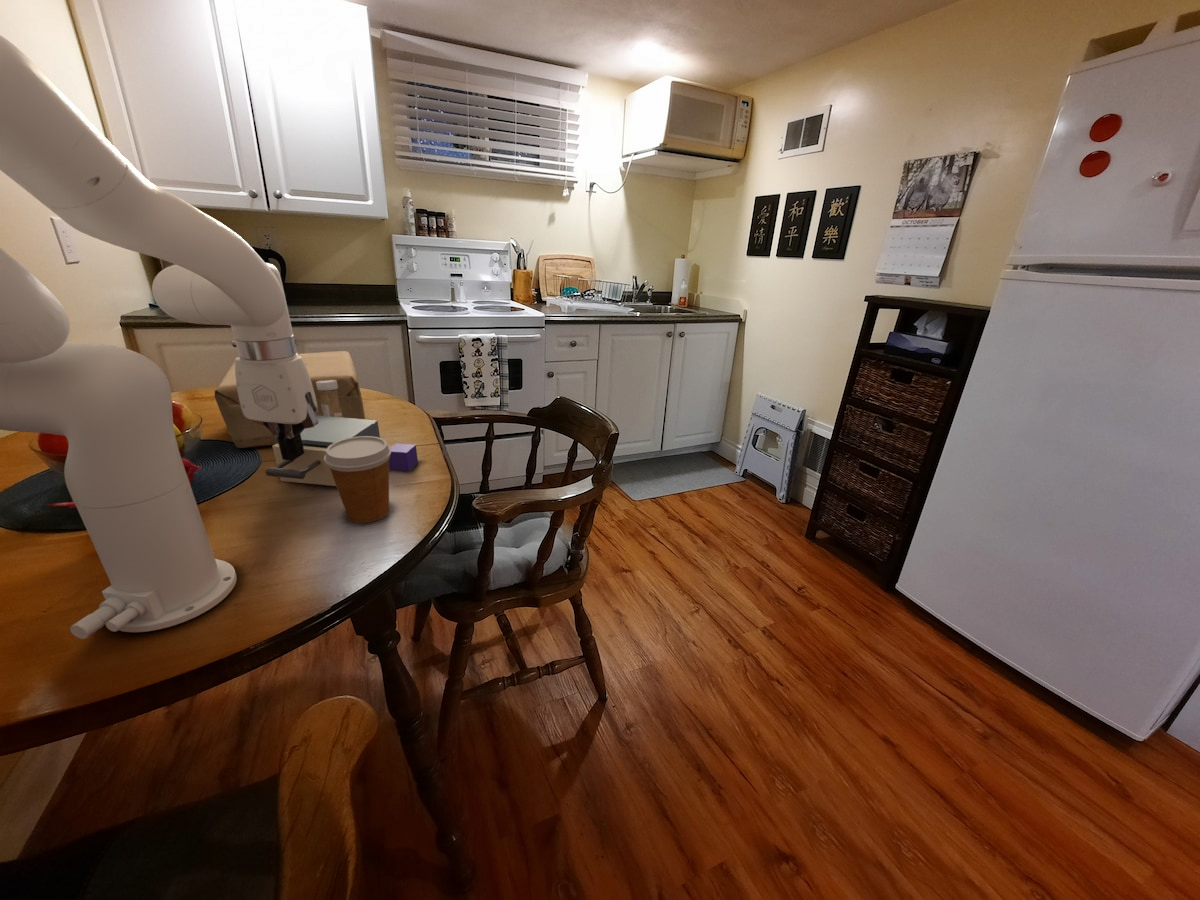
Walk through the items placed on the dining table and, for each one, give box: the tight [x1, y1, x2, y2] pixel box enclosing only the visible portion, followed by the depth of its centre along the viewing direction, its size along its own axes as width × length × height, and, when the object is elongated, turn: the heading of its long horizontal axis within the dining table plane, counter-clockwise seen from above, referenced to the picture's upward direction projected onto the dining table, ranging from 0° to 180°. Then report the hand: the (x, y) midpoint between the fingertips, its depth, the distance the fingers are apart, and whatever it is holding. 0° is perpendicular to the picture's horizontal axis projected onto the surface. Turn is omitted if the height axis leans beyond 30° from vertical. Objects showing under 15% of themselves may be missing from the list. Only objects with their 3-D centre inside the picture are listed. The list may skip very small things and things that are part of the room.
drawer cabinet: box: [275, 415, 381, 446], centre depth 92 cm, size 12×13×9 cm
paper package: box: [214, 350, 366, 449], centre depth 111 cm, size 27×26×14 cm
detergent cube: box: [389, 442, 419, 472], centre depth 96 cm, size 4×4×4 cm
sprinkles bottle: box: [316, 380, 342, 417], centre depth 105 cm, size 5×5×13 cm
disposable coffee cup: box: [324, 436, 391, 524], centre depth 78 cm, size 10×10×12 cm
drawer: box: [264, 444, 337, 487], centre depth 88 cm, size 16×11×7 cm
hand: (293, 456), depth 82 cm, fingers closed
